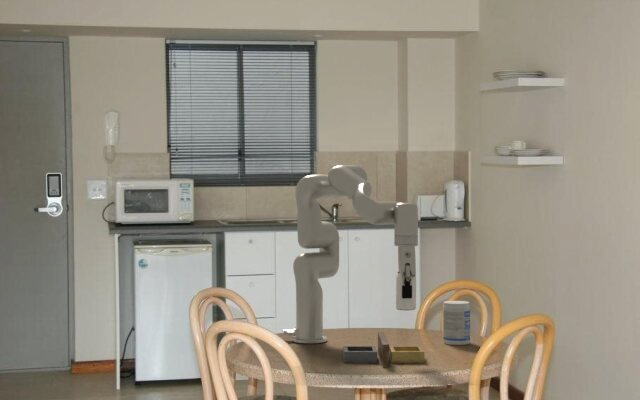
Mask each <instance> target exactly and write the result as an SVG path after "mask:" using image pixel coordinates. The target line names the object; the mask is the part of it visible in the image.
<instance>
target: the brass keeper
mask: <svg viewBox="0 0 640 400" xmlns="http://www.w3.org/2000/svg"><path fill="white" fill-rule="evenodd" d="M389 361H390V362H391V364H393V363H394V364H397V363H398V364H411V363H412V364H414V363H415V364H420V363H421V364H423V363H425V350H424V349H423V347H422V346H421V345H389Z"/></svg>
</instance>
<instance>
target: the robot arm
mask: <svg viewBox="0 0 640 400" xmlns="http://www.w3.org/2000/svg"><path fill="white" fill-rule="evenodd" d="M372 190H373V187H372V185H371V183H370V182H368V173H367V171H366V170H365V169H364V168H363V167H361V166H360V165H355V164H354V165H350V164H341V165H336V166H333V167H332V168H330V170H329V171H328V173H327V174H310V175H305V176H304V177H302V178H300V179H299V181H298V182H297V184H296V187H295V202H296V208H297V242H298V246H300V247H301V248H302V249H307V250H314V249H319V251H317V252H316V251H314V252H304V253H301V254H299V255H297V256H296V258H295V259H294V261H293V264H292V265H293V269H292V270H293V274H294V279H295V302H296V303H295V307H296V308H295V312H296V313H295V317H296V318H295V320H296V321H295V322H296V323H295V328H293V329H283V336H292V337H291V341H292V342H293V343H298V344H320V343H321V344H322V343H326V342H327V341H328V338H327V336H324V315H323V314H324V310H323V309H324V308H323V307H324V305H323V304H324V297H323V296H324V294H323V293H324V291H323V288H322V286H321V283H320V281H319V280H321V279H327V278H328V279H329V278H332V277H334V276H335V275H336V274H337V273H338V272H339V267H340V235H339V234H340V233H339V231H338V228H337V226H336V225H335V224H334V223H332V222H330V221H322V209H321V207H320V204H319V202H318V200H317V199H339V198H342V197H345V198H347V199H349V200H350V201H351V202H352V204H351V205H352V207H353V210H354V212H355V213H356V214H357V215H358V216H359V217H360V218H362V219H363V221H365V222H367V223H368V224H371V225H374V226H383V225H384V226H386V225H387V226H389V225H394V231H393V232H394V242H393V243H394V246H395V247H397V264H398V267H397V268H398V272H399V273H400V276H402V278H403V286H402V298H412V279H411V273H412V275H414V276H413V277H415V276H416V277H417V271H416V270H417V268H416V247H418V246H419V206H418V205H417V203H415V202H400V201H375V200H374V199H372V198H370V197H371V195H372ZM404 275H406V276H404Z"/></svg>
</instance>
